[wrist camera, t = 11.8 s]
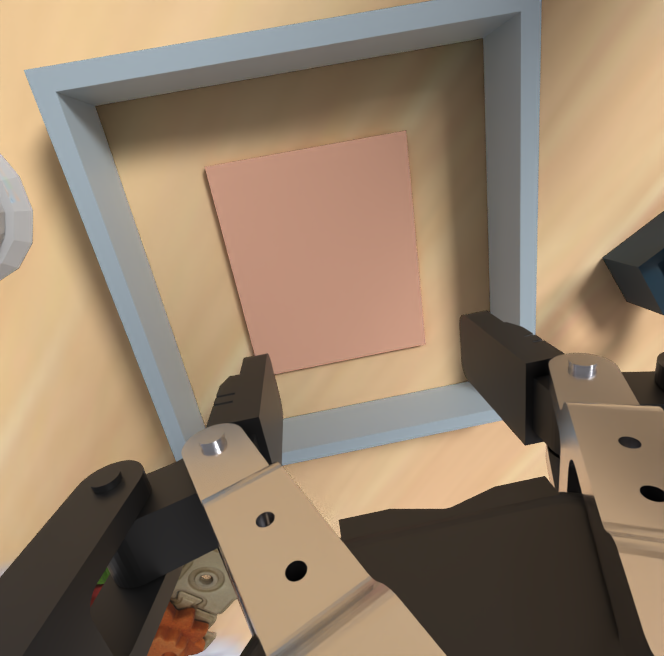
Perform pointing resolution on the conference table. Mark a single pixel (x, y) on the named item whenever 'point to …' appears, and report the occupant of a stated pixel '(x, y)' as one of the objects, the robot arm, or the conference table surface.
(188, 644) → the gear puzzle
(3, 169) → the french press
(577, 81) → the conference table surface
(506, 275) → the grey flat square frame
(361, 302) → the resting pad
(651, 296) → the watch
